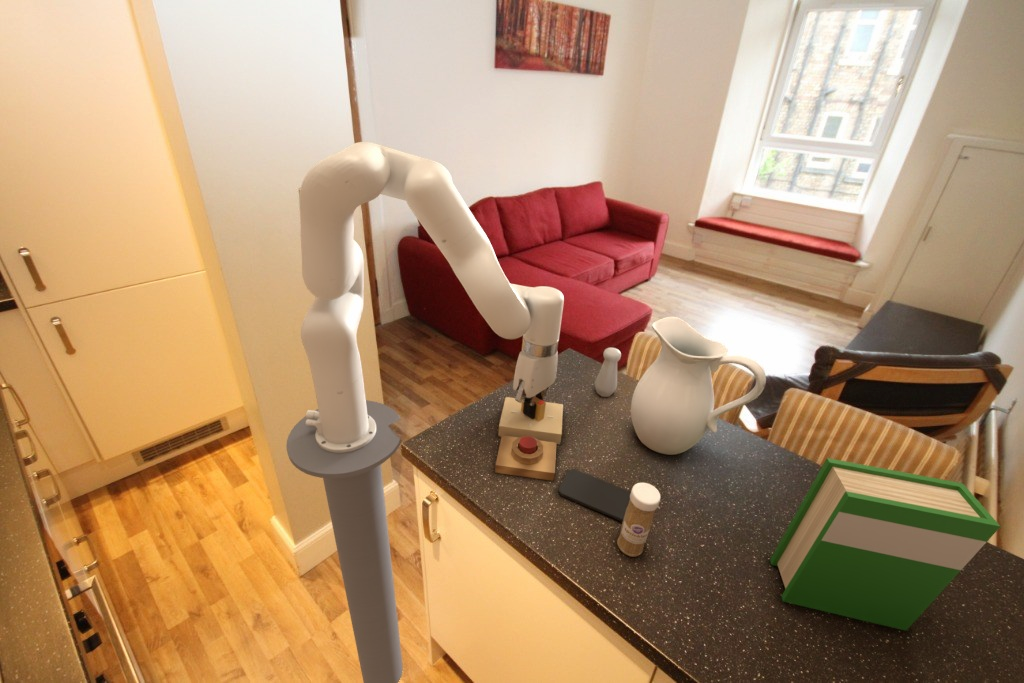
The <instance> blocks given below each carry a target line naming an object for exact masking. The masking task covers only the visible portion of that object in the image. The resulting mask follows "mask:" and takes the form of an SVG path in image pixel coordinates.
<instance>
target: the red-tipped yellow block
mask: <svg viewBox="0 0 1024 683" xmlns="http://www.w3.org/2000/svg"><path fill="white" fill-rule="evenodd" d="M543 400H544V399H543ZM543 400H540V399H539V398H537V397H536V398H535V404H536V413H535V418H534V419H536V420H537V421H541V420H542V419H543V418H544V413H545V406H546V402H547V401H545V400H544V401H543ZM523 406H524V403H522V405H521V411H522V412H523Z"/></svg>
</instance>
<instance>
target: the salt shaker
mask: <svg viewBox="0 0 1024 683" xmlns="http://www.w3.org/2000/svg"><path fill="white" fill-rule="evenodd" d="M602 356H603V362H602V365H601V367H600V370H599V372H598V374H597V376H596V378H595V381H594V388H595V391H596V394H598V395H599V396H601V397H604V398H610V397H611V395H613V393H615V392H616V390H617V388H618V362H620V360H621V359H622V358H621V357H622V353H621V351H620V350H619V349H618V348H616V347H607V348H605V349H604V351H603V355H602Z"/></svg>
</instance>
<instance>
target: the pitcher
mask: <svg viewBox="0 0 1024 683" xmlns="http://www.w3.org/2000/svg"><path fill="white" fill-rule="evenodd" d="M651 328H652V329H653V331H654V332H655V334H656V335H657V337H658V339H659V341H660V346H661V347H660V352H659V354H658V356H657V357H656V358H655V360H654V361H653V362H652V363H651V364H650V366H648V368H647V369H646V370H645V372H644V373H643V375H642V376H641V377H640V378H639V380H638V383H637V384H636V386H635V388H634V391H633V394H632V397H631V402H630V417H631V423H632V426H633V429H634V432H635V434H636V436H637V438H638V439H639V441H640V442H641V443H642V444H643V445H644V446H645V447H647V448H648V449H650V450H651V451H654V452H656V453H659V454H662V455H670V456H674V455H679V454H682V453H685V452H686V451H688V450H689V449H691V448H692V447H694V446H695V445H696V444H698V443H699V442H700V441H701V440H702V439H703V438H704V436H705V434H706V433H707V431H708V430H709V431H710V432H712V433H713V434H716V433H717V432H718V427H717V419H718V418H719V417H720V416H722V415H723V414H725V413H728V412H730V411H733V410H735V409H737V408H740V407H742V406H745V405H747V404H749V403H751V402H753V401H754V400H756V399H758V397H759V396H760V395H761V394H762V393H763V391H764V389H765V387H766V384H767V375H766V372H765V370H764V368H763V366H762V365H761V363H759V362H758V361H757V360H756V359H754V358H752V357H750V356H747V355H745V354H728V352H729V348H728V347H727V345H726V344H724V343H722V342H720V341H718V340H713V339H710V338H708V337H707V336H704V335H702V333H700V332H699V331H697V330H696V329H695V328H694V327H693V326H691V325H690V324H689V323H688V322H686V321H685V320H683V319H682V318H680V317H677V316H667V317H663V318H661V319H658V320H656V321H654V322H653V323H652V324H651ZM726 364H734V365H735V364H736V365H739V366H742V367H743V368H744V367H745V368H746V369H747V370H749V371H750V372H751V373H752V375H753V376H754V378H755V385H754V387H753V388H752V389H751V390H750V391H749V392H748V393H747V394H745V395H743V396H741V397H739V398H737V399H735V400H733V401H730V402H728V403H725V404H724V405H721V406H719V407H717V408H715V395H714V394H715V393H714V385H713V377H712V373H715V372H717V371H718V370H719V368H720V367H721V365H726ZM714 408H715V409H714Z"/></svg>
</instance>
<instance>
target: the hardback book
mask: <svg viewBox="0 0 1024 683" xmlns="http://www.w3.org/2000/svg"><path fill="white" fill-rule="evenodd" d="M1000 528H1001V525H1000V524H999V522H998V521H997V520H996V519H995V517H993V516H992V514H990V513H989V511H988V510H987V509H986V508H985V507H984V505H982V503H981V502H980V501H979V500H978V498H976V496H974V494H973V493H972V492H971V491H970V489H969V488H967V487H966V485H965V484H964V483H963V482H957V481H952V480H947V479H943V478H942V479H941V478H937V477H931V476H925V475H920V474H917V473H916V474H915V473H910V472H904V471H899V470H895V469H894V470H893V469H888V468H883V467H877V466H872V465H867V464H862V463H856V462H852V461H851V462H850V461H846V460H840V459H835V458H829V457H826V459H825V461H824V462H823V464H822V466H821V467H820V469H819V471H818V473H817V475H816V477H815V478H814V480H813V482H812V484H811V486H810V487H809V489H808V491H807V493H806V494H805V496H804V498H803V500H802V502H801V504H800V505H799V507H798V508H797V510H796V512H795V514H794V517H793V518H792V519H791V521H790V523H789V525H788V527H787V529H786V531H785V533H784V534H783V536H782V538H781V540H780V542H779V543H778V545H777V547H776V548H775V550H774V552H773V554H772V556H771V557H770V560H769V561H770V565H771V566H774V567H777V568H778V571H779V573H780V576H781V580H782V583H783V586H784V591H783V592H782V594H781V600H782V603H783V602H784V603H788V604H792V605H796V606H800V607H804V608H807V609H808V608H809V609H812V610H818V611H820V612H826V613H829V614H835V615H838V616H842V617H847V618H850V619H855V620H860V621H864V622H868V623H872V624H876V625H880V626H885V627H889V628H893V629H898V630H901V631H908V629H909V628H911V627H912V626H913V624H914V623H915V621H917V620H918V619H919V617H920V616H921V615H922V614H923V613H924V612H925V611H926V609H928V607H929V606H931V605H932V603H933V602H934V601H936V599H937V598H938V597H939V595H941V593H942V592H943V591H944V590H945V589H946V588H947V586H948V585H950V583H951V582H952V581H953V580H954V579H955V578H956V576H958V574H959V573H960V572H961V571H962V570H963V569H964V568H965V567H966V566H967V564H968V563H969V562H971V560H972V559H973V558H974V557H975V556H976V554H978V553H979V551H980V550H981V549H982V548H983V547H984V546H985V545H986V543H987V542H989V540H990V539H991V538H992V537H993V536H994V535H995V533H996V532H998V530H999V529H1000Z"/></svg>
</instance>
